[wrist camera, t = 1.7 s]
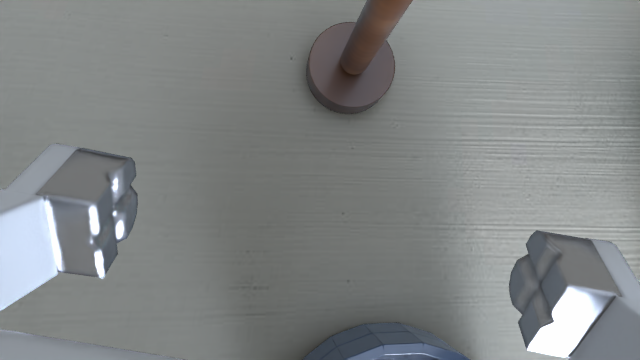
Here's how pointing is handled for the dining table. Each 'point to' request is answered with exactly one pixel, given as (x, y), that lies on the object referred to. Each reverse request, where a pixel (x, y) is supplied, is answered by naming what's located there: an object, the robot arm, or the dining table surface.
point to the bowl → (384, 344)
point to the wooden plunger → (355, 58)
